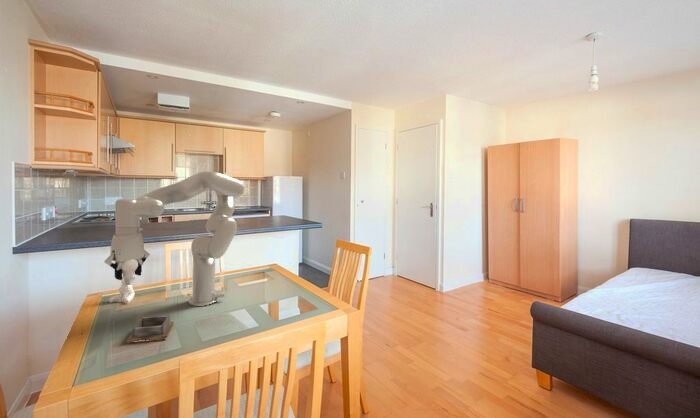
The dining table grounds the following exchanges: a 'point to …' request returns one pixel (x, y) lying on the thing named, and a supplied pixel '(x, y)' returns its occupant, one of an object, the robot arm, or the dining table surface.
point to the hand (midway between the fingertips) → (128, 276)
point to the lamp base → (151, 329)
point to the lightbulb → (129, 270)
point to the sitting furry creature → (124, 293)
